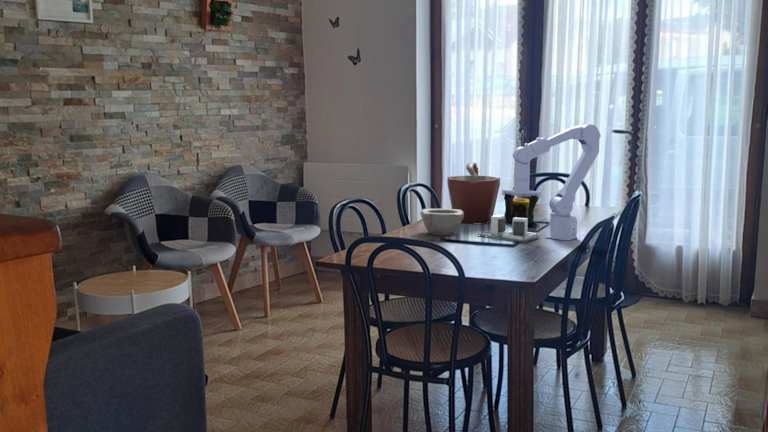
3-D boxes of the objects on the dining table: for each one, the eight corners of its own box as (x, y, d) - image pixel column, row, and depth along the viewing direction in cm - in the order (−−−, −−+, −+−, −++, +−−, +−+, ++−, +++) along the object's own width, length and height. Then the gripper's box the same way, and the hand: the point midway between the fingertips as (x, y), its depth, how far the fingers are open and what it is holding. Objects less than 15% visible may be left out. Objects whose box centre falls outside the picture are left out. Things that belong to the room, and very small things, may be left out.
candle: (503, 223, 300) (504, 200, 299) (510, 220, 309) (511, 197, 308) (527, 225, 296) (527, 202, 294) (533, 222, 305) (534, 199, 303)
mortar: (463, 230, 286) (464, 207, 285) (463, 238, 270) (463, 214, 268) (421, 229, 288) (422, 207, 287) (419, 237, 272) (419, 213, 270)
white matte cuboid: (514, 235, 270) (514, 217, 269) (527, 236, 268) (527, 218, 267) (511, 237, 267) (512, 218, 266) (524, 238, 265) (525, 219, 264)
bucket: (486, 227, 292) (488, 166, 288) (436, 223, 302) (437, 164, 298) (503, 218, 314) (505, 161, 310) (456, 214, 324) (457, 159, 320)
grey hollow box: (538, 238, 269) (539, 217, 268) (524, 242, 261) (525, 221, 260) (492, 232, 282) (492, 212, 280) (477, 236, 273) (478, 216, 272)
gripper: (543, 179, 265) (542, 214, 268) (506, 177, 272) (505, 212, 274) (539, 180, 259) (537, 217, 261) (500, 179, 266) (499, 214, 268)
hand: (520, 215), depth 267 cm, fingers open, 7 cm apart
